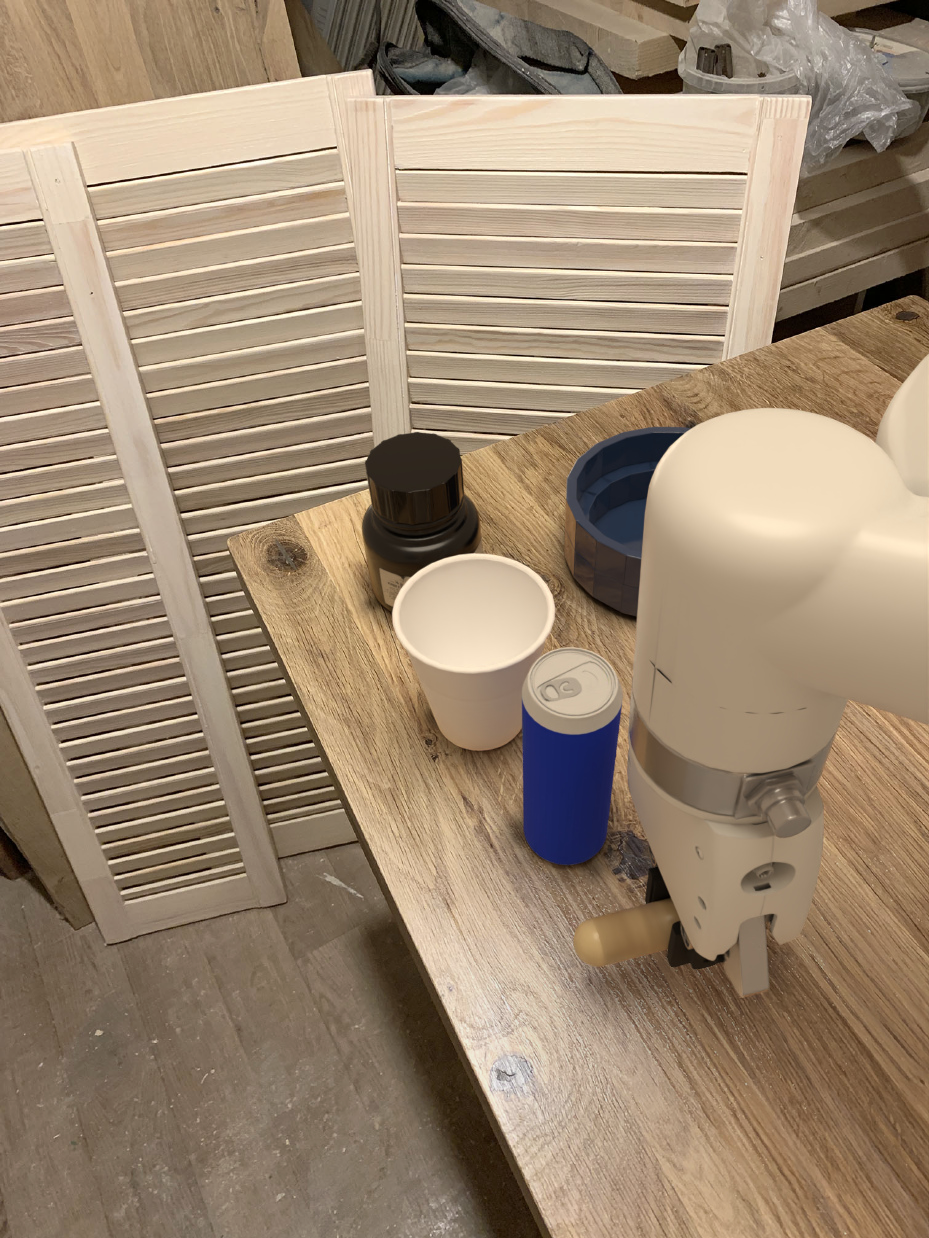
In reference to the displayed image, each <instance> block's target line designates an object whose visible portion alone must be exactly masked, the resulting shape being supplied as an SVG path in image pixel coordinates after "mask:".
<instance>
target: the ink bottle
mask: <svg viewBox="0 0 929 1238" xmlns="http://www.w3.org/2000/svg"><path fill="white" fill-rule="evenodd" d="M364 466H365V474H366V480H367V487H368V491H369V493H368V494H369V499H370V505H368V507H367V509H366V510H365V513H364V514H363V518H362V522H361V536H362V541H363V546H364V547H363V548H364V552H365V558H366V563H367V569H368V574H369V579H370V583H371V584H370V585H371V588H372V592H373V594H374V596H375V598H376V600H377V601H378V602H379V603H380V604H381V605H382V606H383V607H384V608H385V609H387V611H388V612H391V613H392V611H393V607H394V602H395V599H396V597H397V595H398V593H399V591H400V589H401V588H402V587H403V586H404V585H405V583H406V582H407V581H408V580H409V579H410V578H411V577H412V576H413V575H415V574H416V573H417V572H418V571H419V570H421V569H423V568H425V567H426V566H428V565H430V564H432V563H434V562H437V561H439V560H442V559H444V558H448V557H452V556H457V555H463V554H473V553H475V554H484V551H483V549H484V548H483V532H482V527H481V518H480V513H479V511H478V508H477V507H476V505H475V503H474V502H473V501H472V499H471V498H470V497H469V496H468V495H467V494H465V484H464V483H465V482H464V469H463V468H464V467H463V458H462V456H461V450H460V448H459V447H458V446H456V445H455V444H454V442H452V440H451V439H449V438H446V437H444V436H441V435H439V434H437V433H434V432H432V433H431V432H430V433H429V432H420V431H414V432H408V433H407V432H406V433H398V434H396V435H393V436H392V437H390V438H387V439H384V440H382V441H380V443H379V444H377V445H376V446H374V447H373V448H372V449H371V450H370V451H369V454H368V455H367V458H366V459H365V460H364Z"/></svg>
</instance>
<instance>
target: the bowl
mask: <svg viewBox="0 0 929 1238" xmlns="http://www.w3.org/2000/svg"><path fill="white" fill-rule="evenodd" d="M692 428H693V427H692ZM692 428H690V427H687V426H648V427H643V428H637V429H633V430H627V431H622V432H619V433H618V434H614V435H613V436H610V437H607V438H605V439H603V440H601V441H598V442H597V443H595V444H593V445H592V446H591V447H590V448H588V450H586V451H585V452H584V453H583V454H581V455H580V456H579V457H578V458H577V459H576V460H575V462H574V464H573V466H572V468H571V470H570V472H569V473H568V475H567V477H566V481H565V482H566V484H565V509H564V510H565V514H564V515H565V516H564V543H563V545H564V546H563V556H564V559H565V561H566V563H567V565H568V568H569V570H570V572H571V575H572V577H573V579H574V580H575V581H576V582H577V583H578V584H579V585H580V586H581V587H582V588H583V589H584V590H585V591H586V592H587V593H588V594H589V595H590V596H591V597H593V598H594V599H595V600H597V601H599V602H601V603H602V604H605V605H607V606H609V607H610V608H612V609H614V610H616V611H617V612H620V613H622V614H625V615H629V616H632V617H636V618H637V612H638V599H639V585H640V572H641V559H642V546H643V532H644V519H645V509H646V502H647V495H648V489H649V484H650V481H651V478H652V476H653V474H654V471H655V469H656V466H657V464H658V463H659V461H660V460H661V458H662V457H663V455H664V454H665V453H666V451H667V450H668V448H669V447H670V446H671V445H672V444H673V443H674V442H675V441H677V440H678V439H679V438H680V437H681V436H682V435H683V434H685V433H686V432H687V431H689V430H690V429H692Z"/></svg>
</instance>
